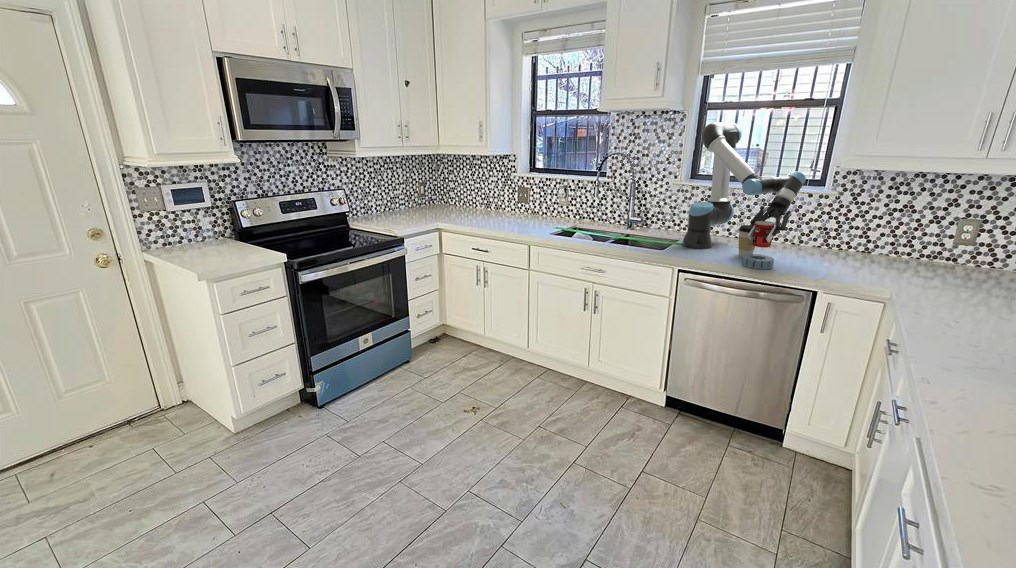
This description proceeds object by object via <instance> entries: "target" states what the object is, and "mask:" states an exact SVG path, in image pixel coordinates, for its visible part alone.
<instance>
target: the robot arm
mask: <svg viewBox="0 0 1016 568" xmlns="http://www.w3.org/2000/svg"><path fill="white" fill-rule="evenodd" d="M741 138H742V129H741V127H740V126H739V125H738V124H737V123H736V122H731V121H730V122H729V121H725V122H724V121H723V122H716V121H715V122H710V123H709V124H707V125H706V126H705V127H704V128H703V129H702V132H701V135H700V139H701V143H702V144H703V146H704V148H705V149H706V150H707V151H708V152H710V153H713V154H714V155H713V157H714V158H713V165H712V167H713V169H712V180H711V189H710V191H711V193H710V197H709V198H708V199H707V201H701V202H700V201H699V202H695V203H692V204H691V205H690V207H689V211H688V222H687V231H686V233H685V235H684V238H683V239H682V246H683V247H685V248H690V249H695V250H696V249H697V250H699V249H700V250H702V249H703V250H705V249H706V250H707V249H710V248H712V245H713V242H712V237H711V227H712V226H716V225H724V224H727V223H728V222H730V221H731V220H732V219H733V216H734V214H735V208H734V206H733V204H731V199H730V197H729V189H730V177H731V174H732V175H733V176H734V178H736V179H737V181H738V182H739V183H740V184H741V185H742V186H741V188H742V192H743V194H745V195H747V196H757V195H762V194H763V195H764V194H771V193H772V194H773V193H774V194H775V197H774V198H773V199H772V200H771V202H770V204H769V206H767V207H766V208H765V207H764V206H762V207H760V210H759V211H758V212H757V213H756V215H755V216H754V217H753V218H751V220H750V222H749V223H750V225H752V227H751V229H750V233H749V234H748V237H749V239H751V238H752V237H753V233H754V227H755V222H756V221H768V219H770V218H774V219H775V226H774V228H773V229H772V230H771V232H770V234H769V235H768V237H767V238H766V240H767V242H768V243H769V242H770V241H771V239H772V240H773V238H774V237H777V235H778V233H779V232H780V231H781V232H783V231H785V229H786V227H787V224H788V222H789V219H790V218H791V216H792V215H793V214H792V211H791V210H789V208H790V206H791V204H792V203H793V202H794V200H795V198H796V196H797V195H798V193H799V192H800V190H801V189H802V187H803V186H804V183H806V176H805V174H804V173H802V172H801V171H798V170H797V171H796V170H795V171H792V172H790V173H789V174H788V175H787V176H765V177H760V176H759V175H758V174H757V173H756V172H755V171H754V170H753V169H752V168H751V167H750V166H749V165H748V163H747V162H745V160H744V159H743V158H742V157H741V156H740V155H739V154H738V153H737V151H735V150H736V146H737V144H738V143H739V141H741ZM782 216H783V217H782ZM781 217H782V218H781ZM781 220H782V222H781Z"/></svg>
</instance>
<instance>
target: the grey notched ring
mask: <svg viewBox="0 0 1016 568" xmlns="http://www.w3.org/2000/svg"><path fill="white" fill-rule="evenodd" d="M774 263H775V258H774V257H772V256H770V255H765V254H759V253H755V254H754V253H753V254H746V255H743V257H742V260H741V265H742V266H743V267H745V268H747V269H752V270H753V269H754V270H767V271H768V270H771V269H773V266H774Z"/></svg>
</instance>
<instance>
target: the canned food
mask: <svg viewBox="0 0 1016 568" xmlns="http://www.w3.org/2000/svg"><path fill="white" fill-rule="evenodd" d="M773 228H775V222H774V221H773V222H772V221H770V220H769V221H768V220H765V221H756V222H755V227H754V233H753V240H752V245H753V246H755V248H756V247H757V248H770V247H771V246H772V242H773V241H772V240H773V238H772V239H771V241H770V242H769V243H768V242H767V240H766V238H767V237H768V235H769V234H770V232H771V230H772V229H773Z"/></svg>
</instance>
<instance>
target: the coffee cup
mask: <svg viewBox="0 0 1016 568" xmlns="http://www.w3.org/2000/svg"><path fill="white" fill-rule="evenodd" d="M751 227H752V225H751V224H744V225H740V227H739V228H738V231H739V232H738V256H739V257H742V258H743V255H746V254H754V251H755V249H756V246H753V245H752V240H753V237H752V238H751V239H749V237H748V234H749V233H750V229H751Z"/></svg>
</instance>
